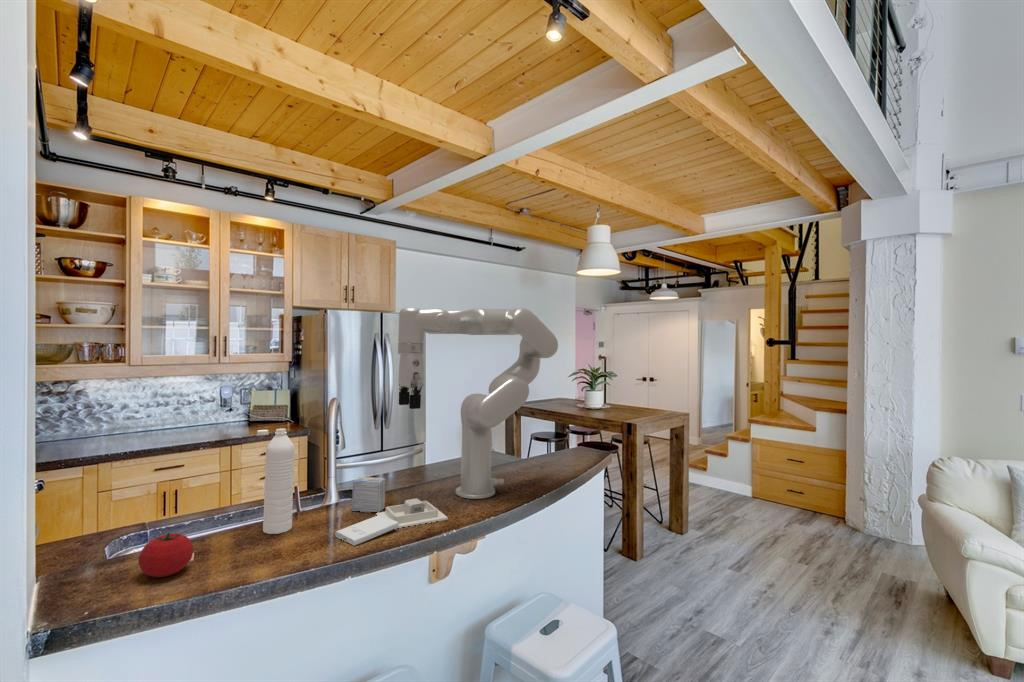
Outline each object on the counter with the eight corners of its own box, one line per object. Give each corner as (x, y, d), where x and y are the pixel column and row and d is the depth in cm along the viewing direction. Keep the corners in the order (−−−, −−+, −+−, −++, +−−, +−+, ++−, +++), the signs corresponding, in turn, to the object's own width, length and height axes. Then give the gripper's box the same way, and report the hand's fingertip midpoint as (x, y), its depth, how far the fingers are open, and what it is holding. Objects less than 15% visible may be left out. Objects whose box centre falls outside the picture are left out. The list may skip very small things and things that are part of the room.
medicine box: (385, 508, 133) (385, 477, 133) (379, 513, 128) (380, 482, 129) (358, 506, 134) (359, 476, 134) (351, 512, 129) (352, 480, 129)
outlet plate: (431, 506, 135) (431, 497, 136) (447, 519, 125) (447, 510, 125) (375, 515, 127) (376, 506, 127) (388, 530, 117) (389, 520, 117)
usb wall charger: (410, 520, 122) (410, 505, 122) (400, 512, 128) (401, 497, 128) (424, 517, 125) (424, 502, 125) (414, 509, 130) (414, 495, 130)
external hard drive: (398, 528, 117) (354, 546, 107) (379, 520, 122) (335, 536, 112) (398, 522, 117) (354, 539, 107) (379, 514, 122) (335, 530, 112)
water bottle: (286, 522, 120) (289, 425, 121) (296, 529, 116) (299, 429, 116) (249, 531, 114) (252, 429, 114) (258, 539, 110) (262, 432, 110)
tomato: (197, 560, 98) (198, 522, 98) (186, 580, 90) (188, 538, 90) (146, 567, 95) (147, 527, 95) (130, 588, 87) (132, 544, 87)
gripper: (433, 350, 134) (431, 409, 134) (413, 349, 149) (411, 402, 149) (408, 349, 130) (406, 410, 130) (389, 348, 145) (388, 403, 145)
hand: (409, 406), depth 139 cm, fingers open, 9 cm apart
